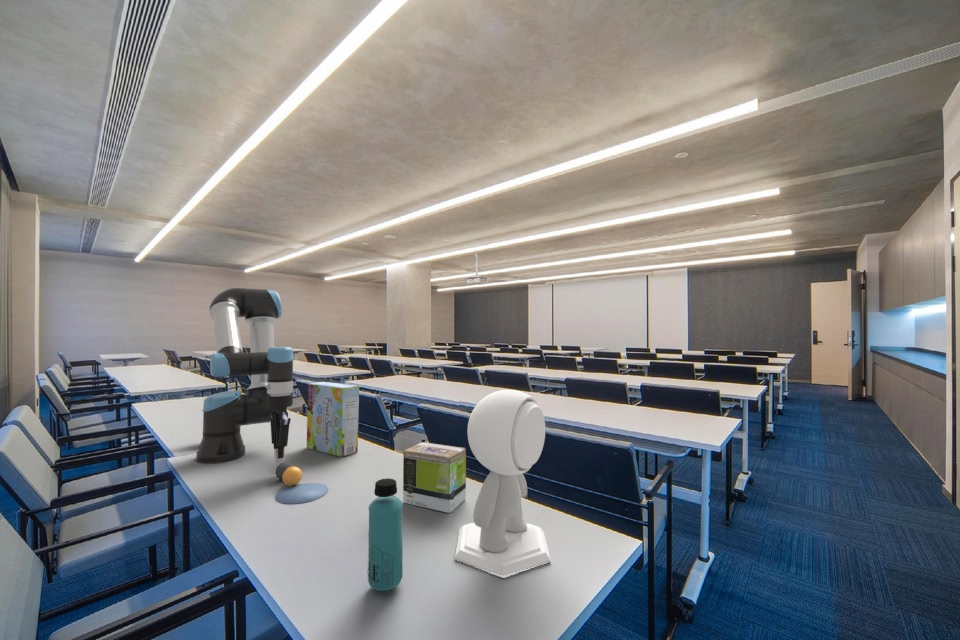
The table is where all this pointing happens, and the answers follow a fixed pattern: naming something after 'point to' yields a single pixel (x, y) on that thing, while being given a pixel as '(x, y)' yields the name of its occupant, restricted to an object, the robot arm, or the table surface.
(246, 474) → the table surface
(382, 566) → the beverage bottle
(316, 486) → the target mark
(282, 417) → the robot arm
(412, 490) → the tea box
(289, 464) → the dark gray ball
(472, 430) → the white cartoon figure
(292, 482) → the object ball
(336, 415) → the snack box
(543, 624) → the table surface
